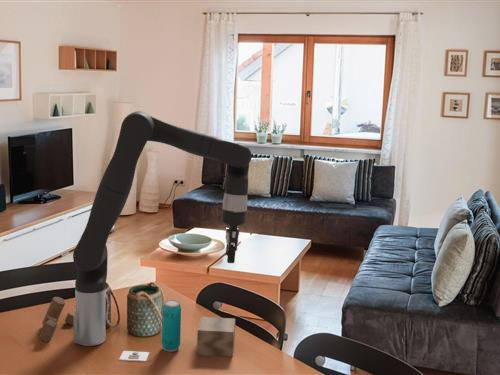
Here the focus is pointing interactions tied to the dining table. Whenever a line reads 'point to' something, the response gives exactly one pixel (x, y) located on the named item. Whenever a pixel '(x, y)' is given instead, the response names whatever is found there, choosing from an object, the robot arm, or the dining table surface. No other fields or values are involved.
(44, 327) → the wooden block set
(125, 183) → the robot arm
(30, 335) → the dining table surface
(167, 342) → the beverage can
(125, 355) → the tower plan card
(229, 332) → the walnut base brick
